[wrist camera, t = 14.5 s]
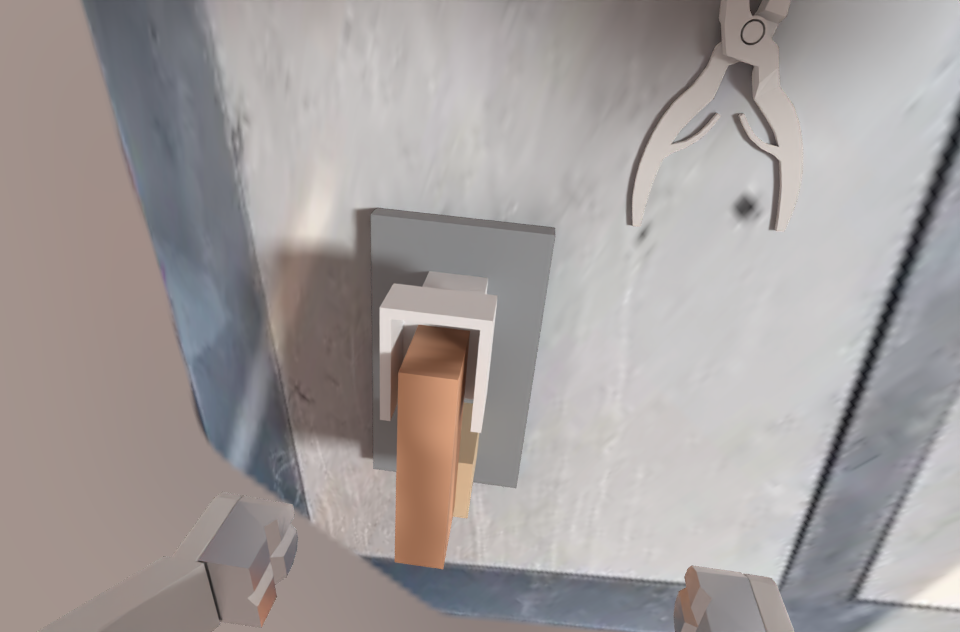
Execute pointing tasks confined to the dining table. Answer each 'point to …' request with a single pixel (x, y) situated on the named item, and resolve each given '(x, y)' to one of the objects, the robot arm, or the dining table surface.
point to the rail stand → (461, 328)
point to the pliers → (755, 47)
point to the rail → (429, 442)
